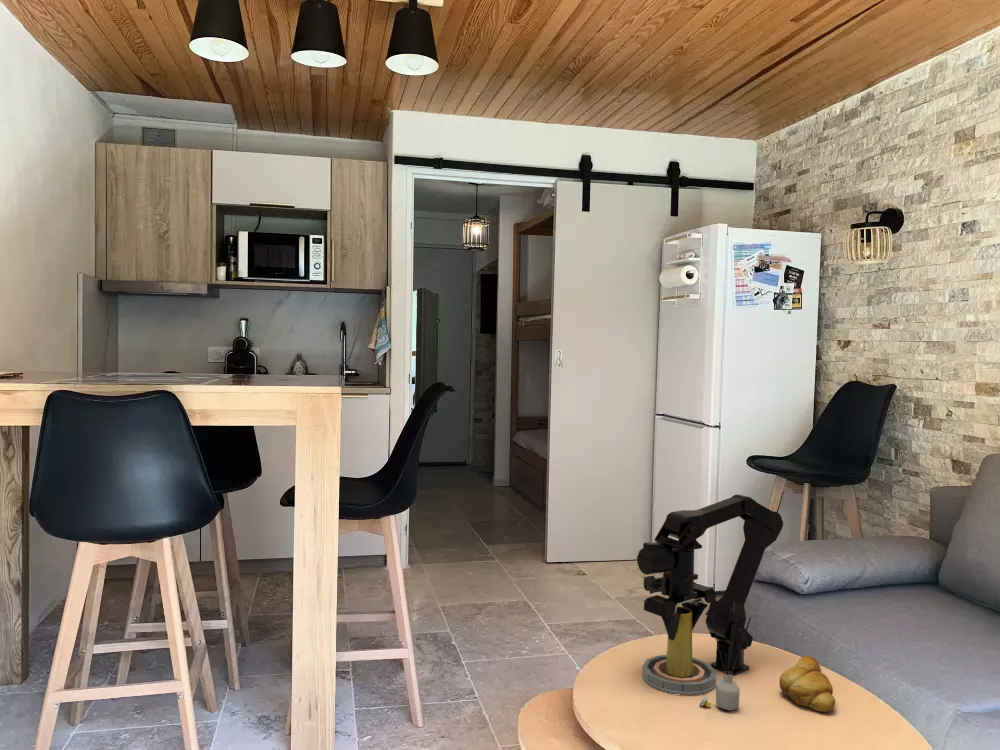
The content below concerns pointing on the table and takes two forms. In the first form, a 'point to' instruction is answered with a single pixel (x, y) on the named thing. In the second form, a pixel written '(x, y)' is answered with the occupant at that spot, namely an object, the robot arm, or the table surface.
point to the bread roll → (808, 685)
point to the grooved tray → (692, 685)
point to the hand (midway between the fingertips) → (679, 636)
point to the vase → (681, 647)
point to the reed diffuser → (727, 680)
